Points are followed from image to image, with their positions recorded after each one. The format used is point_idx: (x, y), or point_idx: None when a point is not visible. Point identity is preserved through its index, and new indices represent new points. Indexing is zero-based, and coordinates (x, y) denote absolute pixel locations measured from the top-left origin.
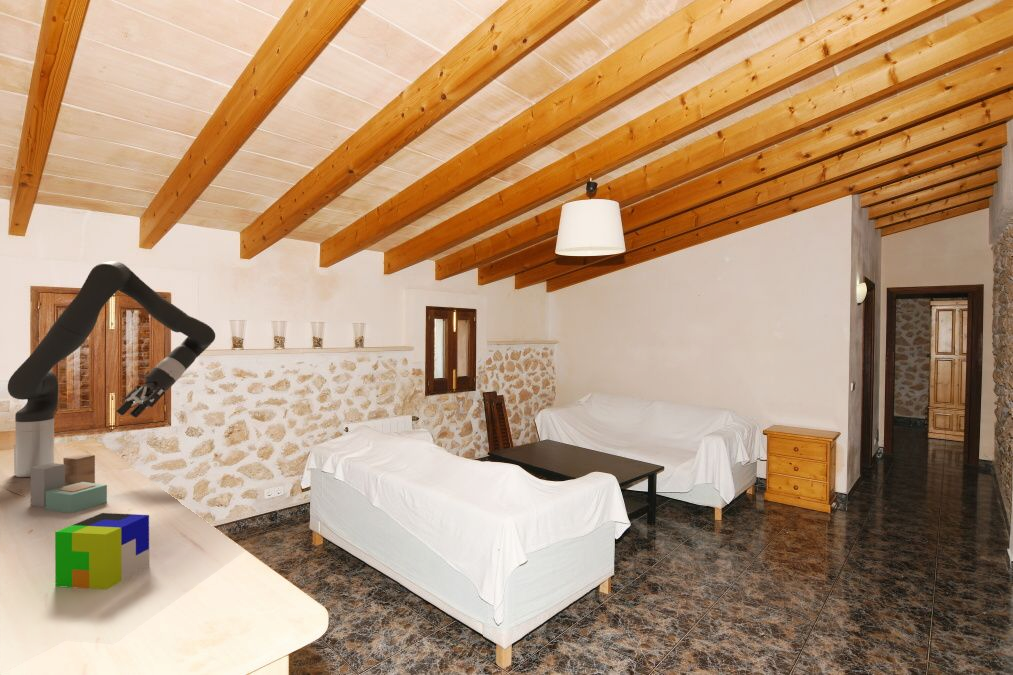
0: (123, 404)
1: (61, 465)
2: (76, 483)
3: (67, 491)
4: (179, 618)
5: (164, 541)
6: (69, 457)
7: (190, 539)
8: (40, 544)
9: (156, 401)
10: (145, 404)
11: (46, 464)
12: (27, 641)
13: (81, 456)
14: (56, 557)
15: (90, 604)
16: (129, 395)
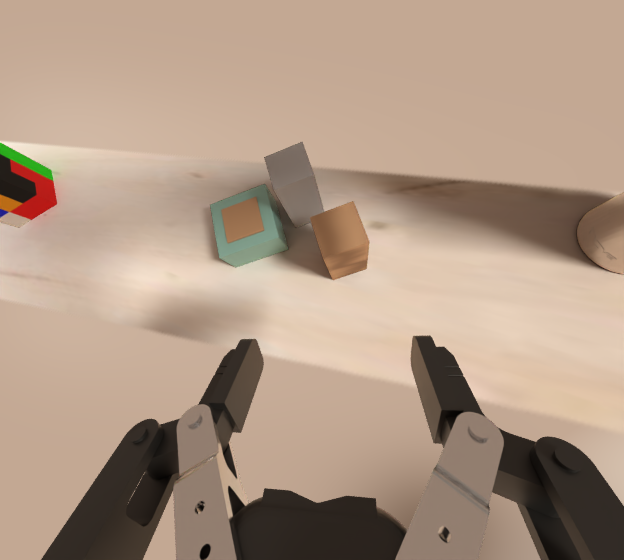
0: (435, 383)
1: (272, 184)
2: (275, 227)
3: (233, 205)
4: None
5: (45, 257)
6: (346, 211)
7: (26, 276)
8: (146, 175)
9: (129, 513)
10: (176, 425)
11: (306, 165)
12: None
13: (334, 232)
14: (17, 152)
15: None
16: (569, 517)
